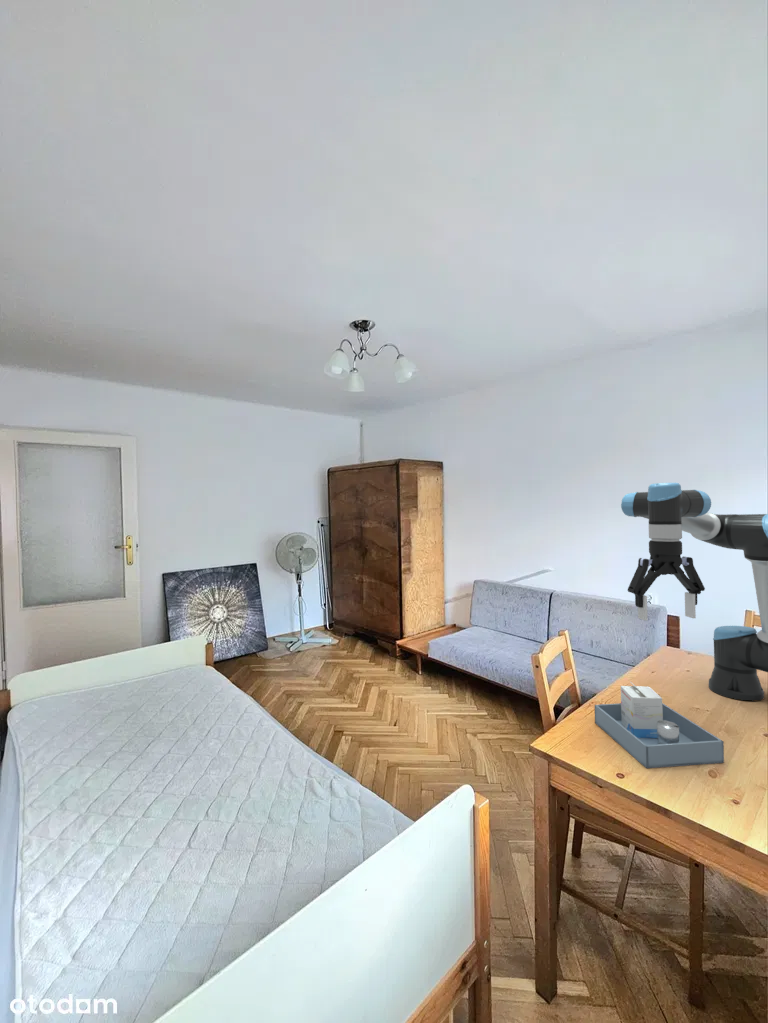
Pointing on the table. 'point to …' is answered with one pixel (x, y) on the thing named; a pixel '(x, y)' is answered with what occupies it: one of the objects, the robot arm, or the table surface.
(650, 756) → the tote
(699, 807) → the table surface
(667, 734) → the tin
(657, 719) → the ink box
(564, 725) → the table surface
